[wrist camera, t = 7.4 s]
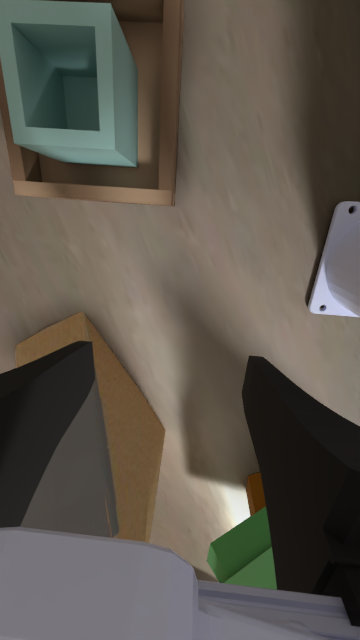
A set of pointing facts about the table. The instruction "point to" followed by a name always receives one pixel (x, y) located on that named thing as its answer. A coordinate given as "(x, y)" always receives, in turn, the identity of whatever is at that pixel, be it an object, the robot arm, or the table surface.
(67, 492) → the sandwich container
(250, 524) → the decorative tree
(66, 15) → the box
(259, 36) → the table surface
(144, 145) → the walnut crate
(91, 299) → the table surface
